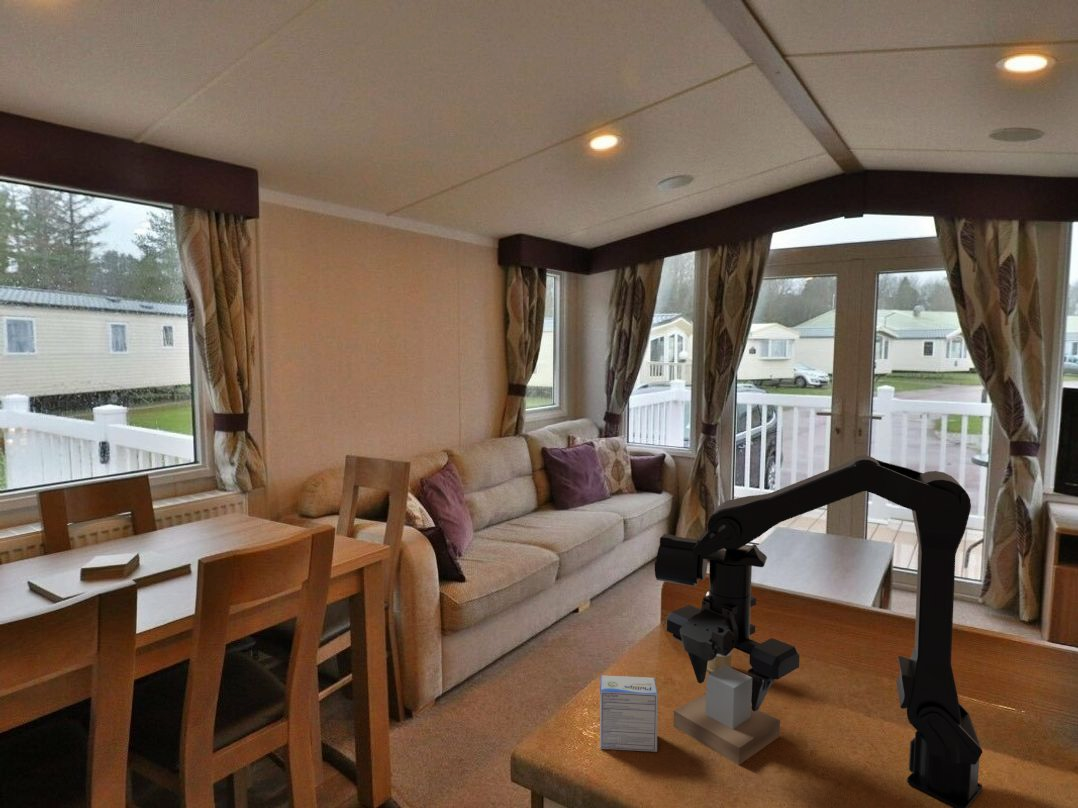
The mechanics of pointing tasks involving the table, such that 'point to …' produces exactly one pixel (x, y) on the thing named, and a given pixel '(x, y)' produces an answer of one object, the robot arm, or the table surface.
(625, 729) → the medicine box
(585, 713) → the table surface
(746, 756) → the brown flat block
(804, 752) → the table surface
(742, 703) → the grey block
